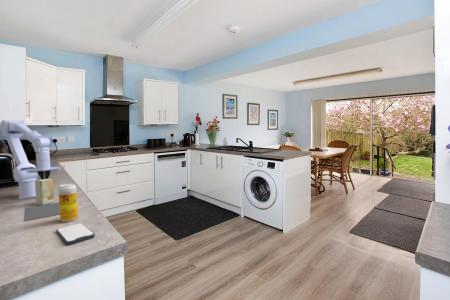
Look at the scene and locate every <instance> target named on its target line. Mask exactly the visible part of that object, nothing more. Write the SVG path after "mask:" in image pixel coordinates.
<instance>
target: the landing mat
mask: <svg viewBox="0 0 450 300" xmlns="http://www.w3.org/2000/svg"><path fill="white" fill-rule="evenodd" d="M24 216H25V217H24V222H29V221H33V220H38V219H43V218H45V219H46V218H49V217H54V216H60V205H59V202H52V203H48V204H45V205H36V206H28V207H25V215H24Z"/></svg>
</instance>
